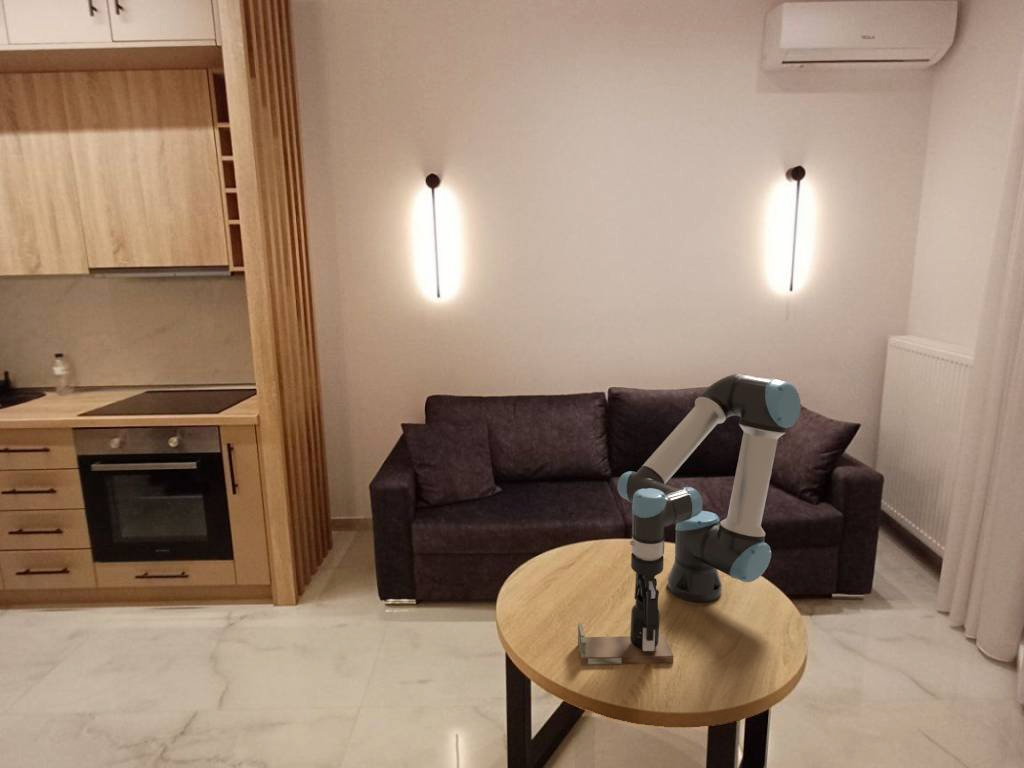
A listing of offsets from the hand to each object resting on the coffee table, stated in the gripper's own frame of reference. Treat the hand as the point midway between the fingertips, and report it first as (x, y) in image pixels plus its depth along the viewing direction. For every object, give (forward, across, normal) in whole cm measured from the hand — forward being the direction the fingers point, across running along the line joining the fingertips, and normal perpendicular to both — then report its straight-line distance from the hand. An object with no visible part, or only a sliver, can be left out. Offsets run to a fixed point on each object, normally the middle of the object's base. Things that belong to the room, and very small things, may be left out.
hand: (644, 640), depth 150 cm
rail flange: (+4, 0, -5) cm, 6 cm away
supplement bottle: (+1, 0, 0) cm, 1 cm away
